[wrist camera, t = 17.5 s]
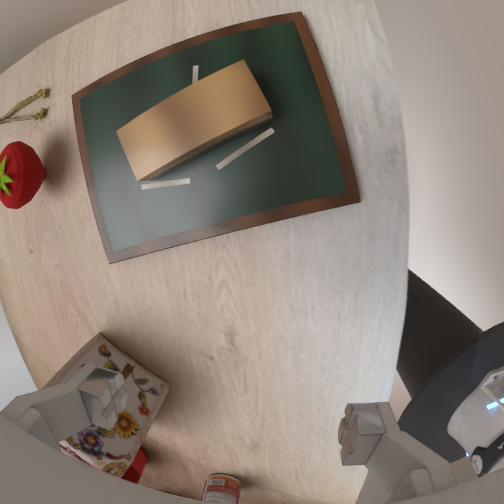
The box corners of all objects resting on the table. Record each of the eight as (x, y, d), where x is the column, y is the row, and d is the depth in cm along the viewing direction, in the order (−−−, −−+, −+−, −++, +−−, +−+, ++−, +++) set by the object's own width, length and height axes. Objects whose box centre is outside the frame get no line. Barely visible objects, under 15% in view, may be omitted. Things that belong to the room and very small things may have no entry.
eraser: (248, 75, 23) (243, 59, 19) (273, 120, 24) (272, 110, 20) (136, 136, 25) (115, 131, 21) (156, 180, 26) (137, 181, 22)
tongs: (-4, 118, 26) (-13, 117, 25) (52, 88, 26) (43, 85, 24) (-5, 144, 28) (-14, 144, 26) (51, 118, 27) (41, 116, 25)
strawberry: (62, 138, 27) (0, 134, 17) (62, 201, 29) (0, 214, 19) (31, 146, 27) (-26, 146, 18) (32, 204, 29) (-25, 217, 19)
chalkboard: (300, 16, 22) (301, 10, 20) (357, 201, 26) (361, 202, 25) (76, 97, 25) (70, 95, 24) (114, 261, 30) (108, 264, 29)
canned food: (139, 439, 37) (114, 487, 27) (155, 465, 39) (136, 510, 29) (102, 431, 38) (76, 474, 28) (120, 458, 40) (99, 498, 30)
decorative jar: (142, 422, 36) (95, 512, 19) (79, 378, 35) (14, 453, 18) (174, 383, 33) (119, 497, 16) (99, 329, 32) (10, 416, 15)
